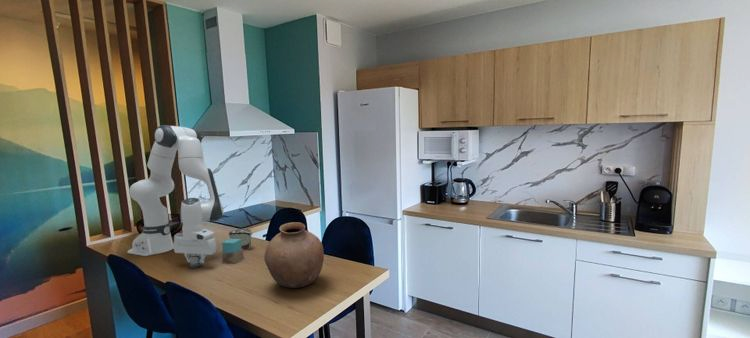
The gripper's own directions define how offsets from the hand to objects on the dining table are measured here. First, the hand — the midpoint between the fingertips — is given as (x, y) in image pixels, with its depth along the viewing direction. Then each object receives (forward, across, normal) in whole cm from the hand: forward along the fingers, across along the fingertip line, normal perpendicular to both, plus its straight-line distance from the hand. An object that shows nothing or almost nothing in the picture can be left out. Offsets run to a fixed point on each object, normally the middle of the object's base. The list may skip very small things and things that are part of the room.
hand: (196, 262), depth 167 cm
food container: (+2, +8, +26) cm, 27 cm away
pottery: (+2, +55, -12) cm, 57 cm away
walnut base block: (+2, +13, +9) cm, 16 cm away
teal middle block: (-3, +13, +9) cm, 16 cm away
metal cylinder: (+2, 0, 0) cm, 2 cm away
